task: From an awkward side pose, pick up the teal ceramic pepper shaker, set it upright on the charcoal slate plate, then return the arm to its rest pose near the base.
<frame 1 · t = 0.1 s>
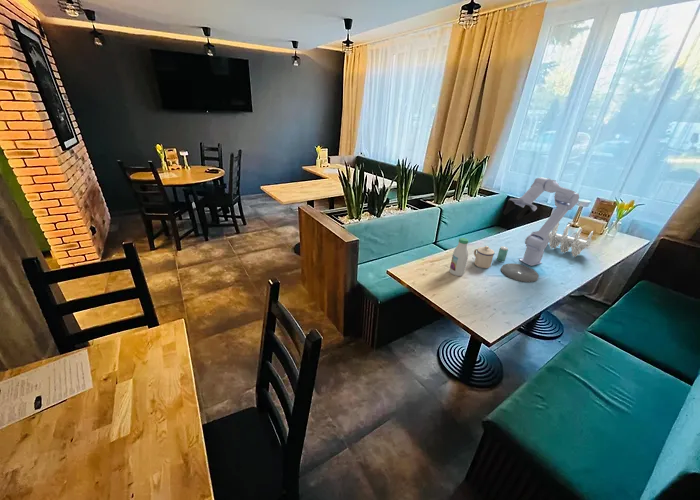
hand: (510, 216, 146), 32 cm above the table, tool tilted 50°, fingers open, 7 cm apart
slate plate: (519, 273, 159), on the table
milk bottle: (456, 272, 158), on the table
teacup with lid: (480, 263, 168), on the table
pepper shaker: (500, 259, 173), on the table
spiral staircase: (560, 251, 185), on the table
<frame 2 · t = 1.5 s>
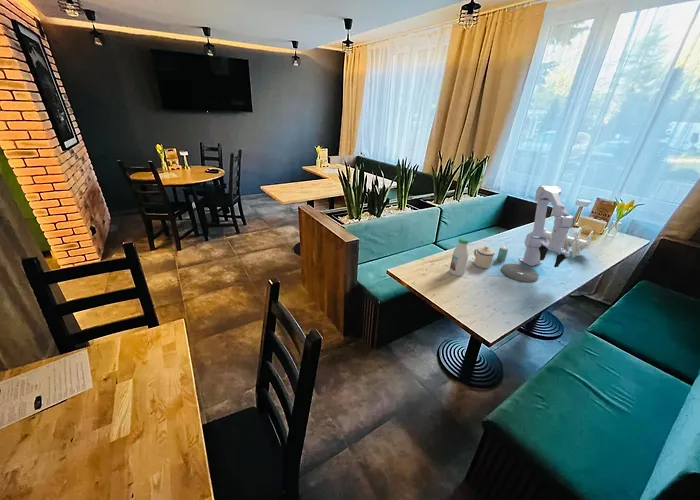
hand: (548, 263, 150), 10 cm above the table, tool pointing down, fingers open, 7 cm apart
nothing on the table moved.
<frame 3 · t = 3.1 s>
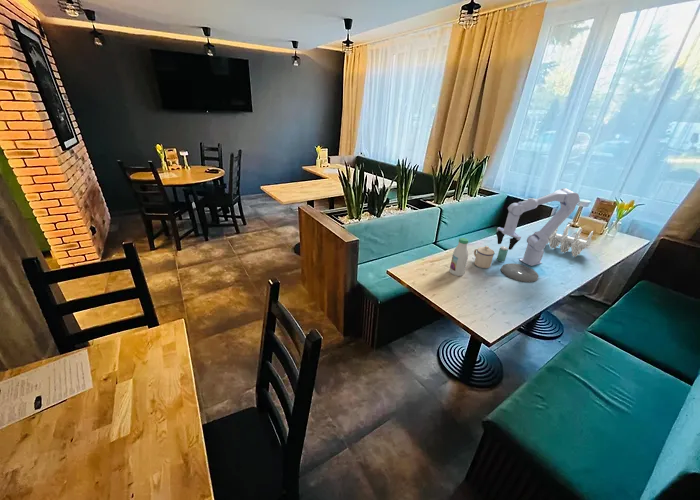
hand: (504, 246, 169), 9 cm above the table, tool pointing down, fingers open, 7 cm apart
nothing on the table moved.
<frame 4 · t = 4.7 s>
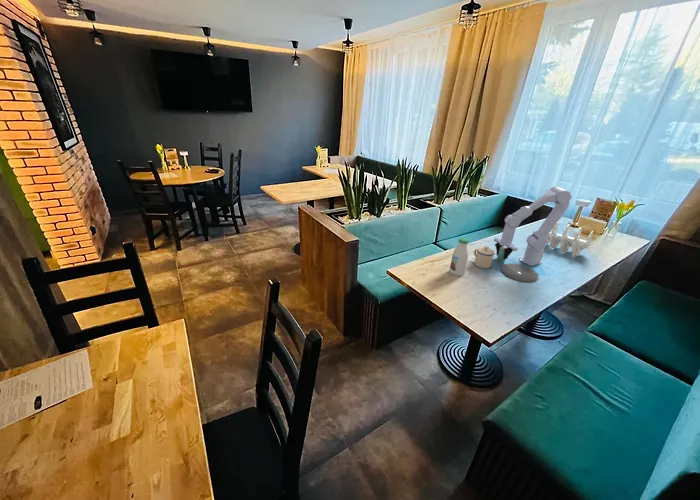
hand: (501, 256, 172), 2 cm above the table, tool pointing down, fingers closed on pepper shaker, 4 cm apart
pepper shaker: (500, 259, 173), on the table, touching gripper
everything else where it was.
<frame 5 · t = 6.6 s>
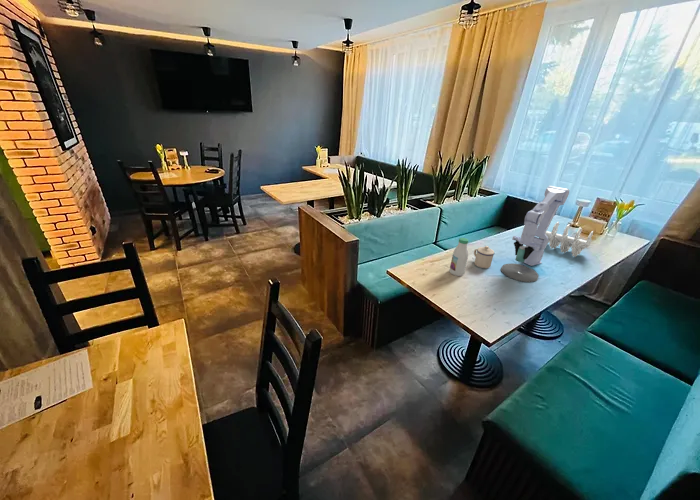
hand: (520, 256, 157), 9 cm above the table, tool pointing down, fingers closed on pepper shaker, 4 cm apart
pepper shaker: (519, 260, 158), point 7 cm above the table, touching gripper
everything else where it was.
when the fingers open (5 cm above the table, at t = 8.5 s): pepper shaker drops 1 cm, resting on slate plate.
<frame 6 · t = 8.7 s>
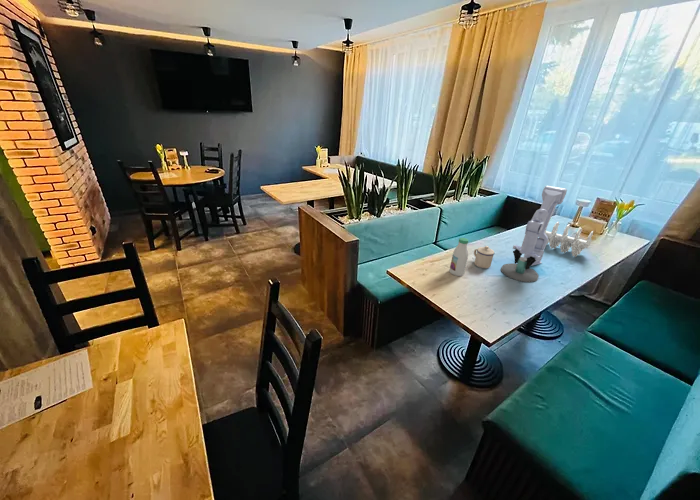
hand: (521, 265, 157), 5 cm above the table, tool pointing down, fingers open, 6 cm apart
pepper shaker: (519, 271, 159), point 1 cm above the table, touching slate plate
everything else where it was.
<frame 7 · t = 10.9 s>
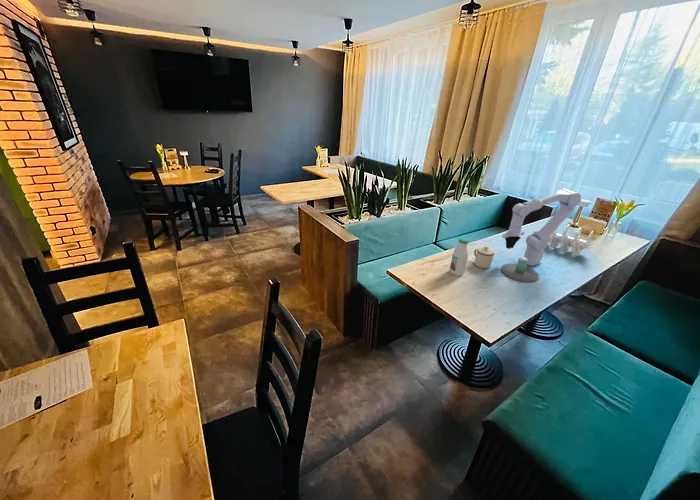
hand: (509, 247, 166), 9 cm above the table, tool pointing down, fingers closed
nothing on the table moved.
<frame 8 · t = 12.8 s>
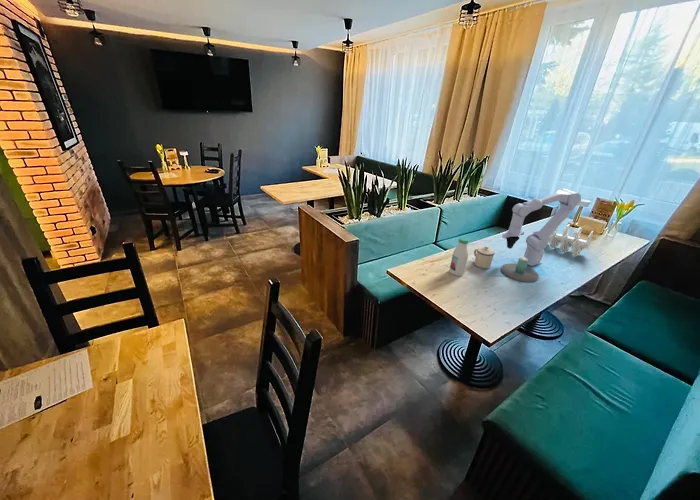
hand: (509, 247, 166), 9 cm above the table, tool pointing down, fingers closed
nothing on the table moved.
at the end: pepper shaker inside the target area on the slate plate (0.0 cm from its centre), point 1.0 cm above the slate plate's base; pepper shaker tilted 0°; the gripper is holding nothing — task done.
